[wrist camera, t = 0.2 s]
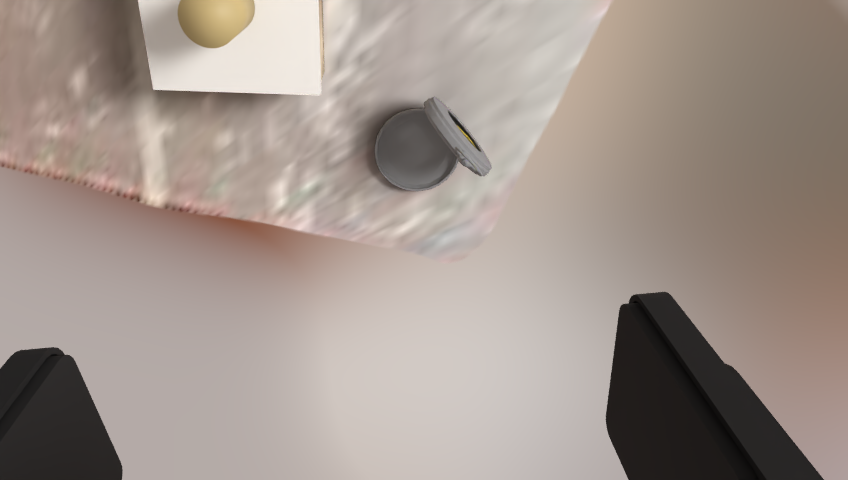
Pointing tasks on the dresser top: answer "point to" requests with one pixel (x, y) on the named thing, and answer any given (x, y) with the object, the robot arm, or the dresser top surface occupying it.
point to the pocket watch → (426, 147)
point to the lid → (233, 45)
